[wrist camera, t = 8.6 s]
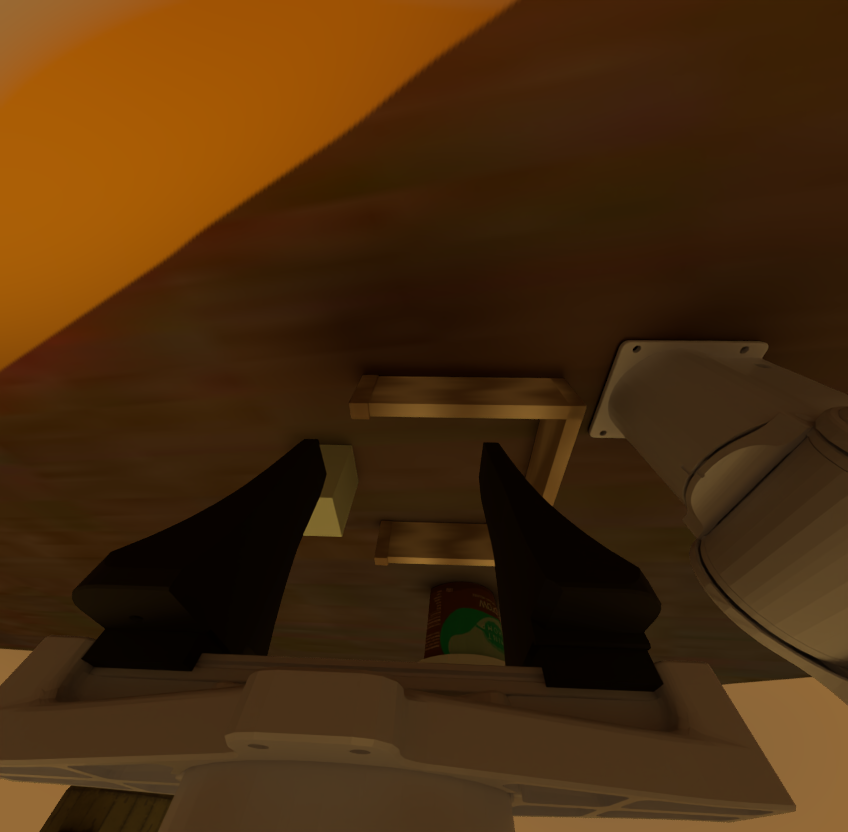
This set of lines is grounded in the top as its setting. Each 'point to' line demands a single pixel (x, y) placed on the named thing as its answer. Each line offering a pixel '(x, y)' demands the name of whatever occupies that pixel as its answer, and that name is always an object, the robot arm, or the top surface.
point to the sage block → (334, 492)
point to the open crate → (471, 400)
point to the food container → (463, 626)
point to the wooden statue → (108, 811)
